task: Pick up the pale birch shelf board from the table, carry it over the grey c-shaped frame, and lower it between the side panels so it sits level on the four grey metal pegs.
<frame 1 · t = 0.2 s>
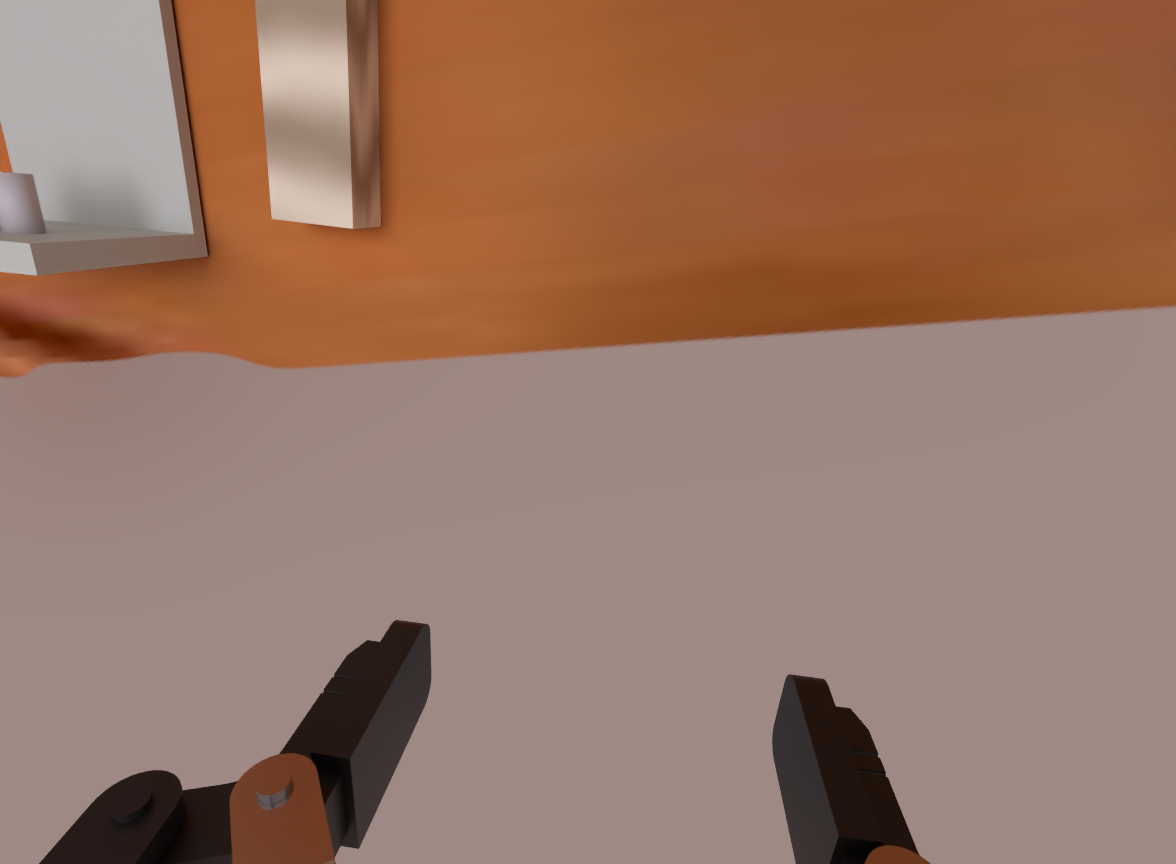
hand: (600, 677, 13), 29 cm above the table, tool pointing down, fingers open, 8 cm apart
grey c-shaped frame: (78, 6, 36), on the table
shelf board: (337, 25, 35), on the table
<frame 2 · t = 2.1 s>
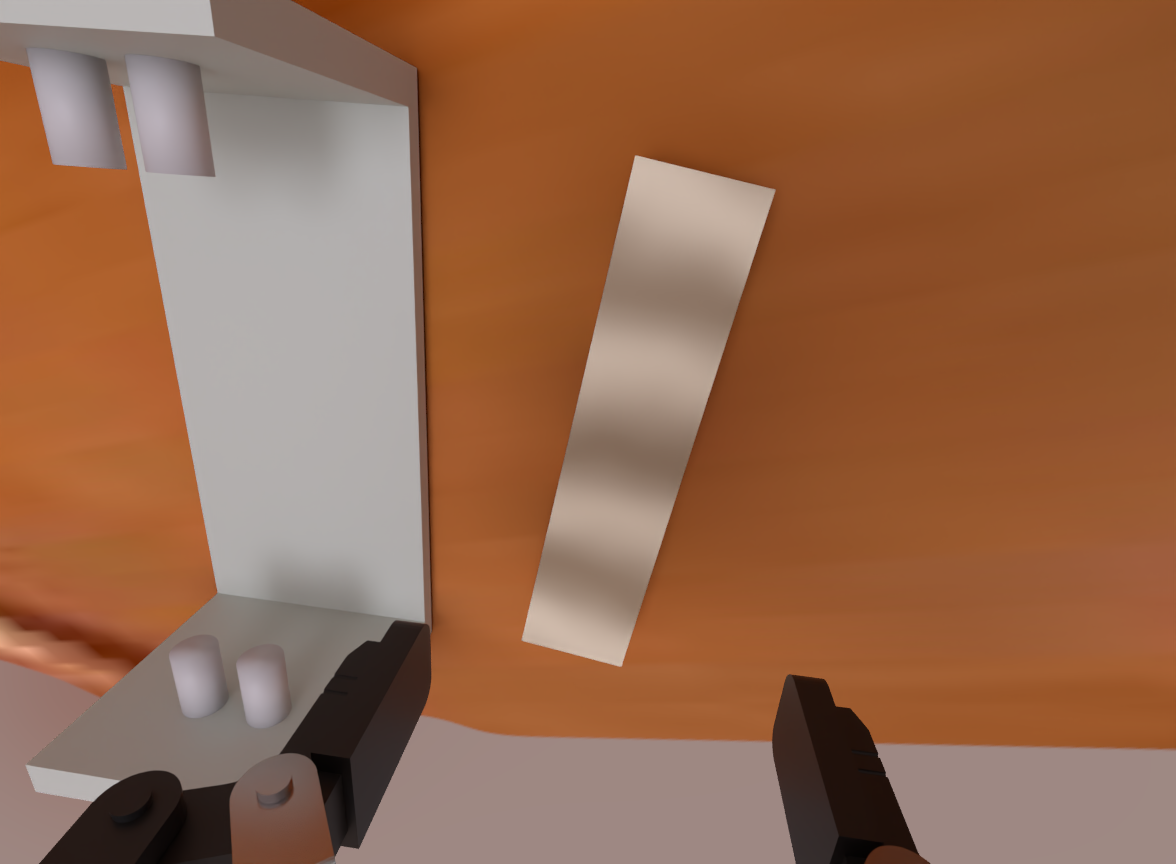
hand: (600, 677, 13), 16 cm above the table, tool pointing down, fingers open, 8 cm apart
grey c-shaped frame: (307, 387, 29), on the table
shelf board: (631, 420, 29), on the table
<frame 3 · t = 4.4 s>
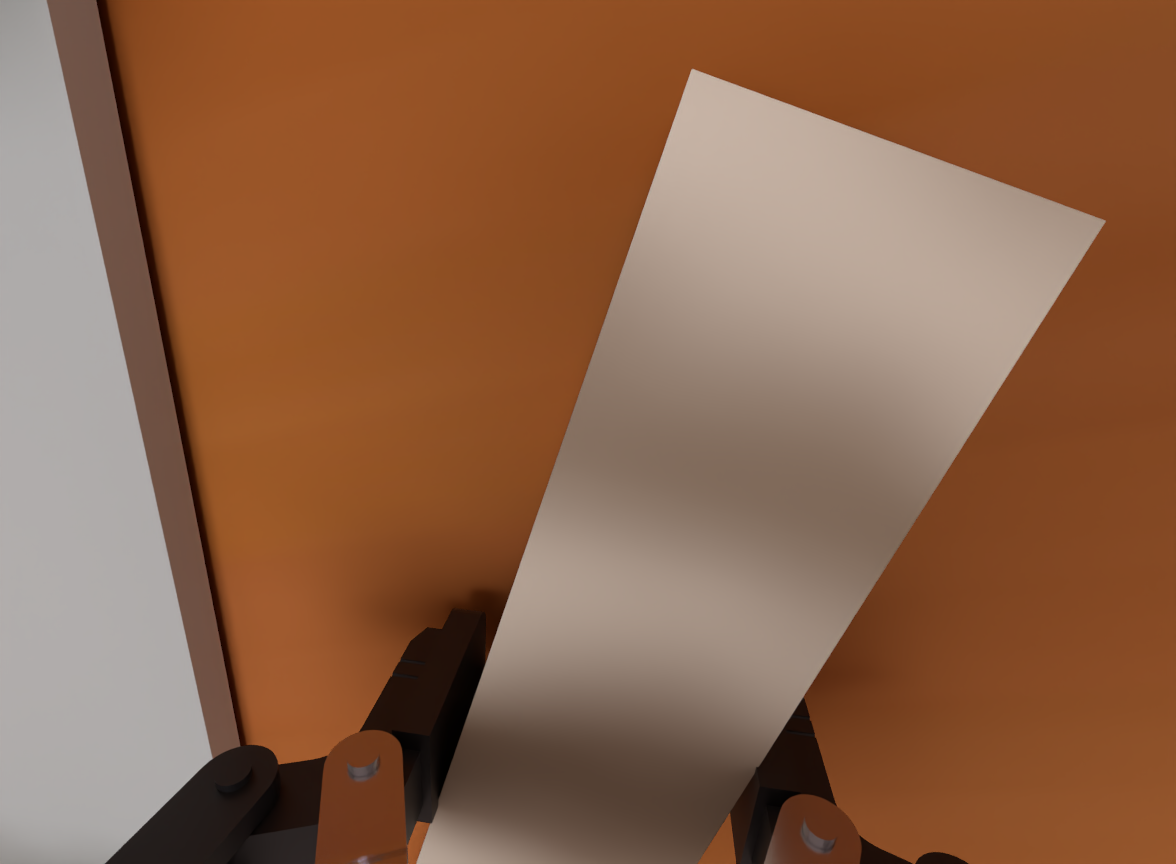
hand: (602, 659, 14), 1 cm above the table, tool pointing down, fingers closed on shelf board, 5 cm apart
shelf board: (607, 635, 15), on the table, touching gripper
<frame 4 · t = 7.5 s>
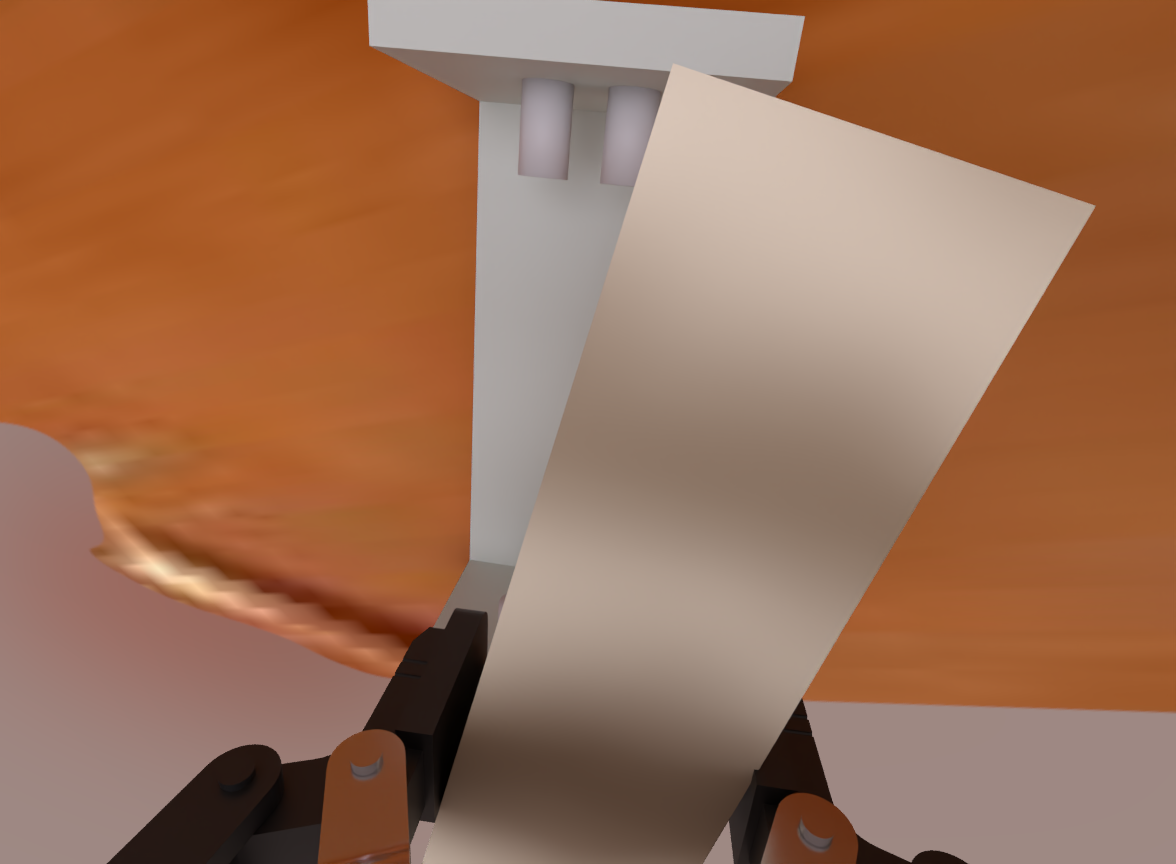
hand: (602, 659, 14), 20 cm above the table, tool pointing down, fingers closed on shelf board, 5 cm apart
grey c-shaped frame: (586, 372, 33), on the table
shelf board: (608, 636, 14), point 20 cm above the table, touching gripper
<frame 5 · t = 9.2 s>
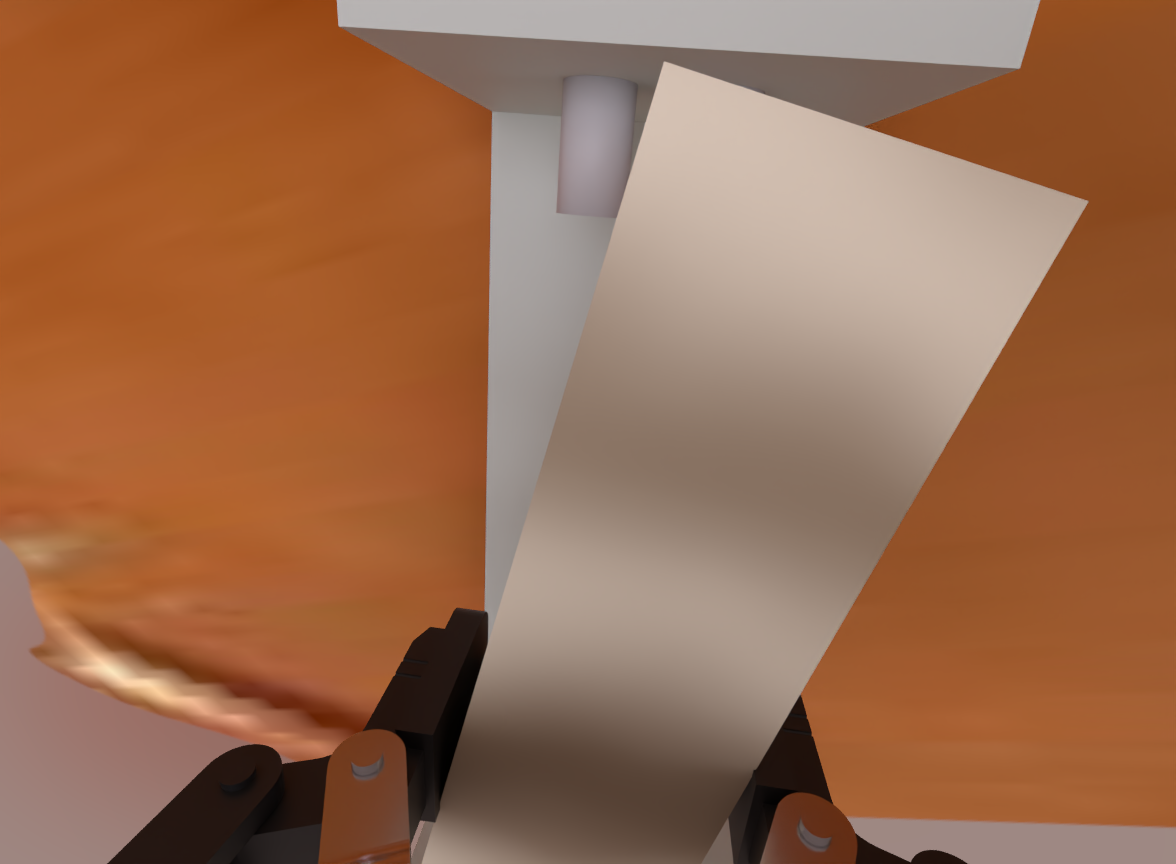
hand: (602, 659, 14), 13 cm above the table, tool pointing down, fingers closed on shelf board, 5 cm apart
grey c-shaped frame: (626, 443, 26), on the table
shelf board: (607, 635, 14), point 13 cm above the table, touching gripper
when the fingers open (11 cm above the table, at t = 10.7 s): shelf board drops 1 cm, resting on grey c-shaped frame.
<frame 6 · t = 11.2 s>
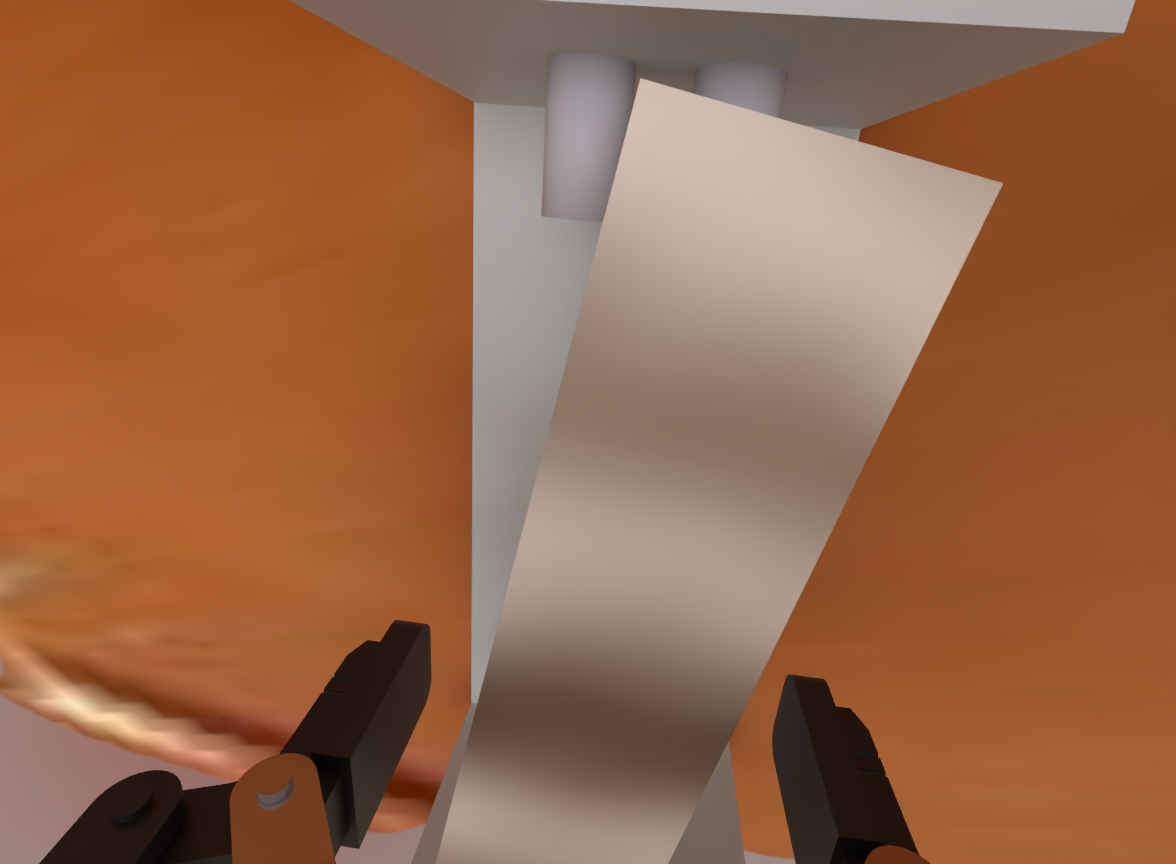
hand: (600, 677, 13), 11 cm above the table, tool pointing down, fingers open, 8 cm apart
grey c-shaped frame: (625, 467, 24), on the table
shelf board: (612, 599, 16), point 9 cm above the table, touching grey c-shaped frame
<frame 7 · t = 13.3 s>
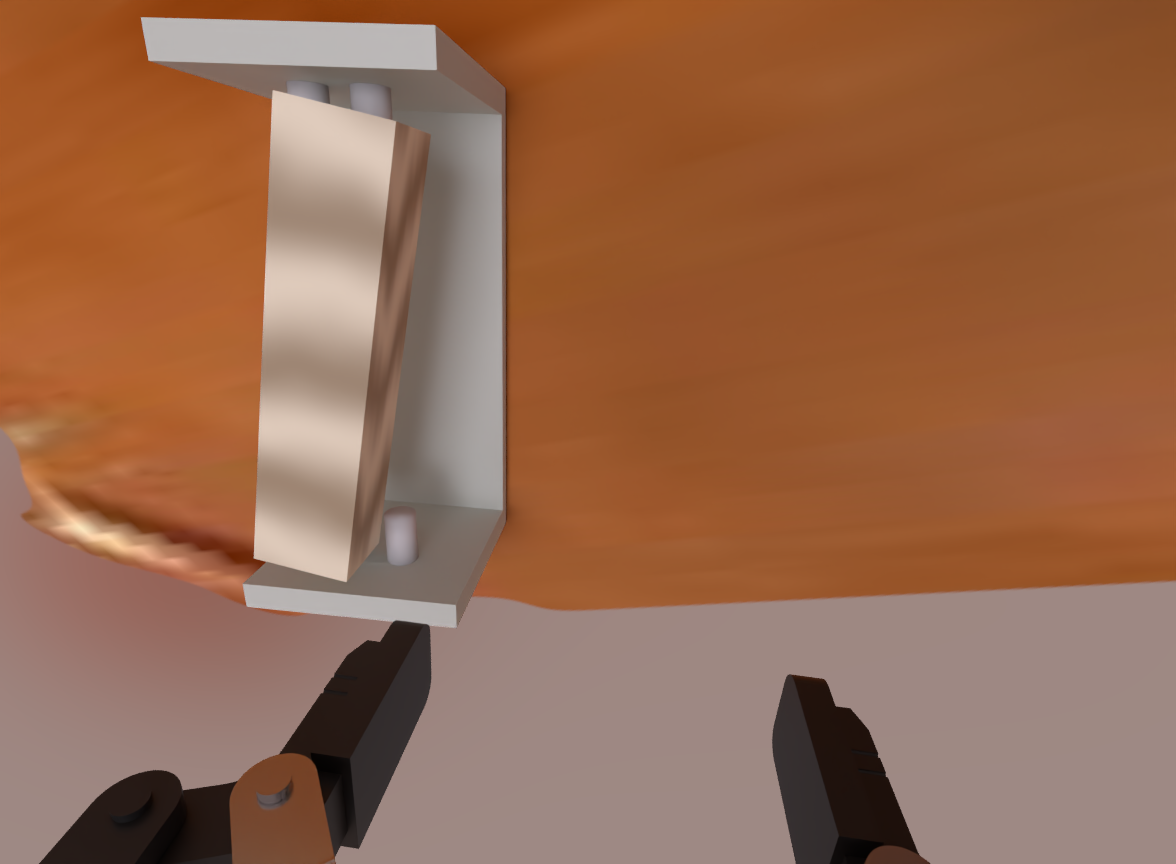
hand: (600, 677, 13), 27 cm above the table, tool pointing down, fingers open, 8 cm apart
grey c-shaped frame: (416, 326, 39), on the table
shelf board: (355, 352, 31), point 9 cm above the table, touching grey c-shaped frame
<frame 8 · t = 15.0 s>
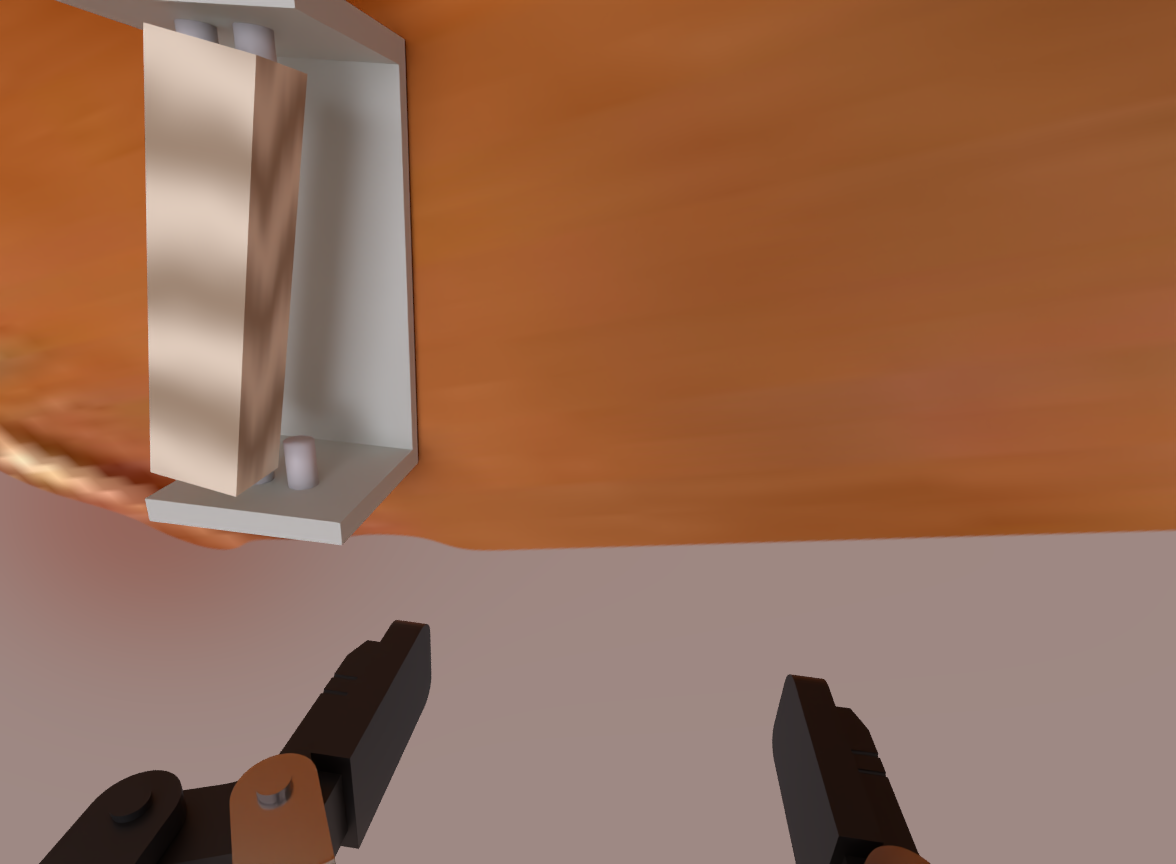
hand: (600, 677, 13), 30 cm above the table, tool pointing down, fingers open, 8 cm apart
grey c-shaped frame: (328, 269, 41), on the table
shelf board: (247, 282, 33), point 9 cm above the table, touching grey c-shaped frame
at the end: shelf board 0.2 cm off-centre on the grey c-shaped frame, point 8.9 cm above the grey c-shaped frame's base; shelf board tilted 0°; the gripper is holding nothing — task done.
